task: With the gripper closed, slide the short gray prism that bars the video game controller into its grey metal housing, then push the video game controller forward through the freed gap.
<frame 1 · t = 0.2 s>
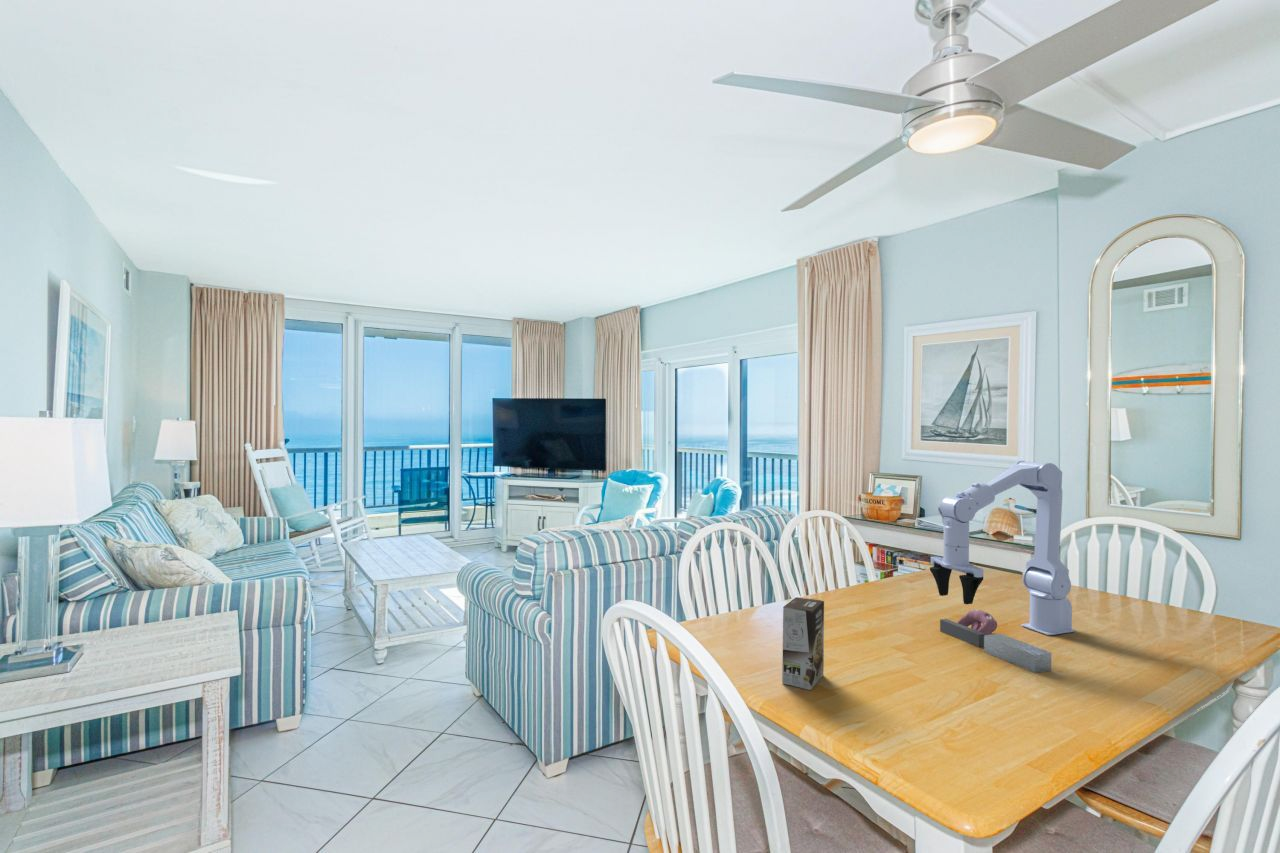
hand: (955, 599, 156), 10 cm above the table, tool pointing down, fingers open, 7 cm apart
coffee box: (803, 680, 131), on the table
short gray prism: (961, 632, 156), point 2 cm above the table, slide at 0.2 cm
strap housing: (1014, 660, 142), on the table
video game controller: (977, 634, 160), on the table
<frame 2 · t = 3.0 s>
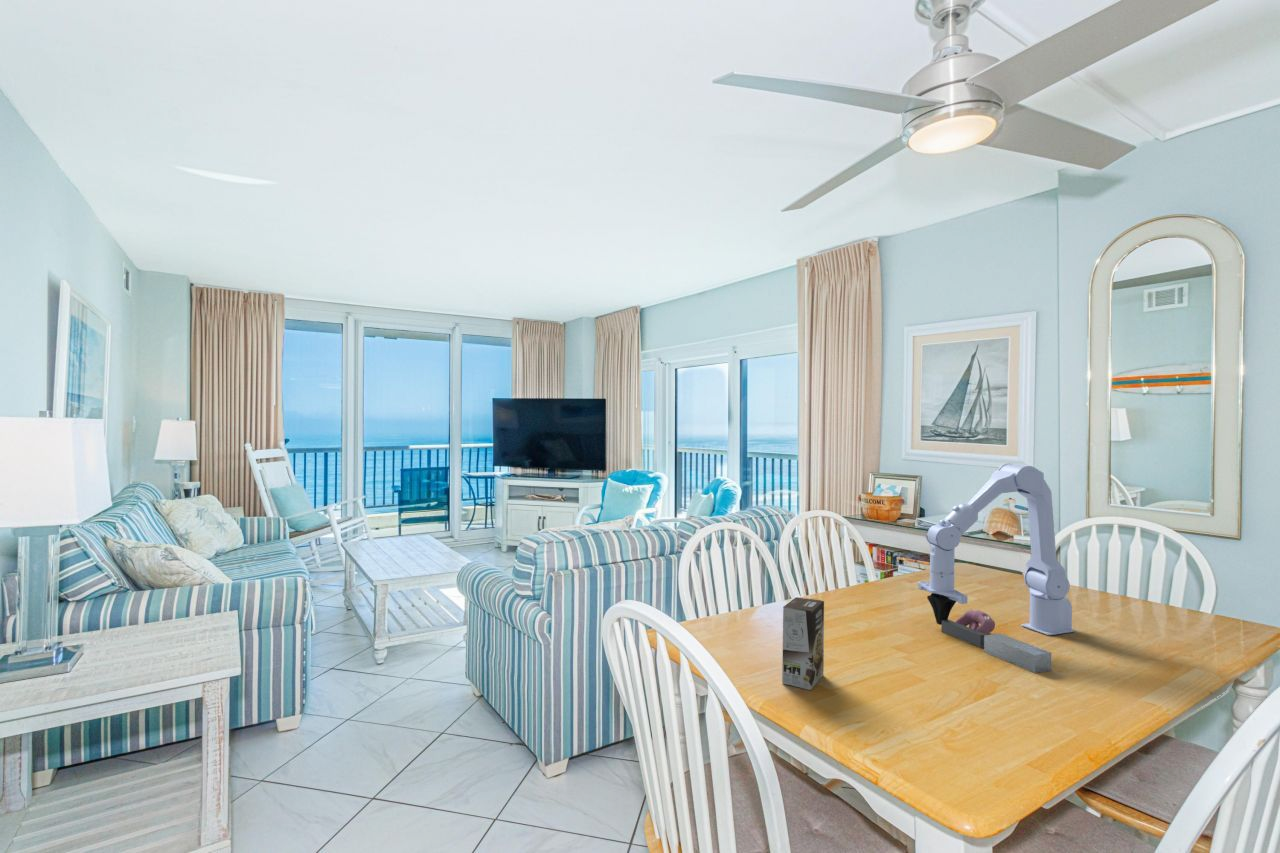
hand: (941, 623, 163), 2 cm above the table, tool pointing down, fingers closed
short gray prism: (963, 633, 156), point 1 cm above the table, slide at 0.7 cm, touching gripper
everything else where it was.
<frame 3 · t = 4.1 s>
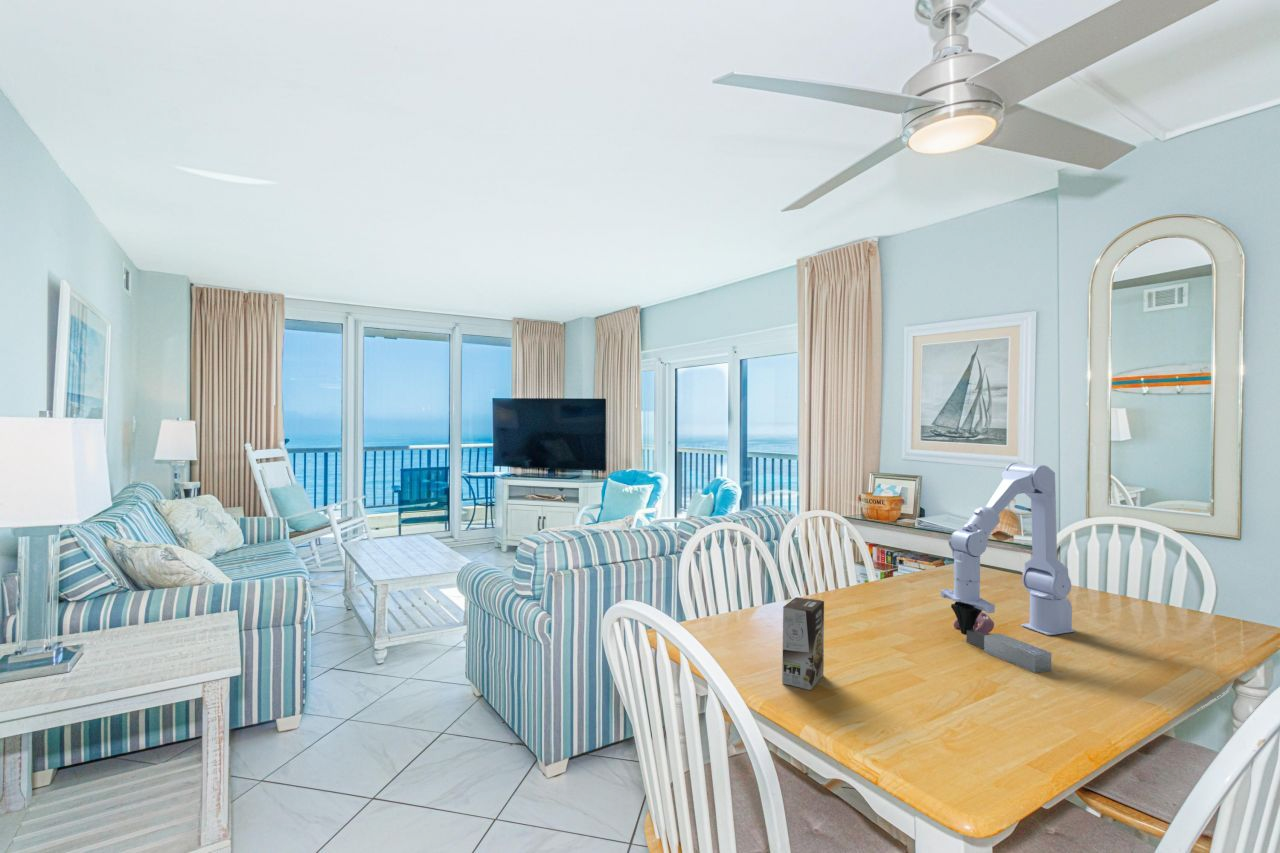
hand: (966, 633, 155), 2 cm above the table, tool pointing down, fingers closed
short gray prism: (990, 643, 148), point 1 cm above the table, slide at 8.6 cm, touching gripper
everything else where it was.
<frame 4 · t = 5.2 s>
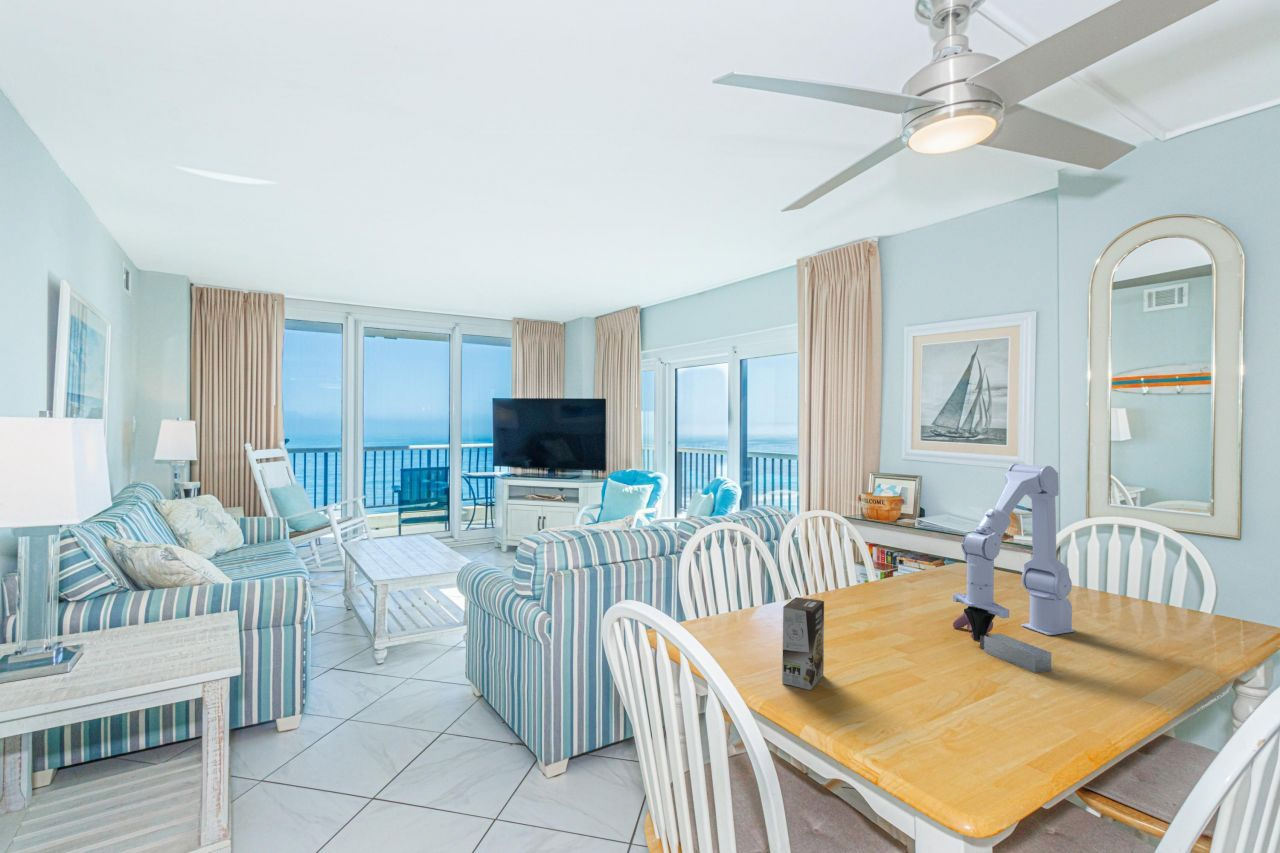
hand: (979, 639, 151), 2 cm above the table, tool pointing down, fingers closed
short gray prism: (1004, 649, 145), point 1 cm above the table, slide at 12.5 cm, touching gripper
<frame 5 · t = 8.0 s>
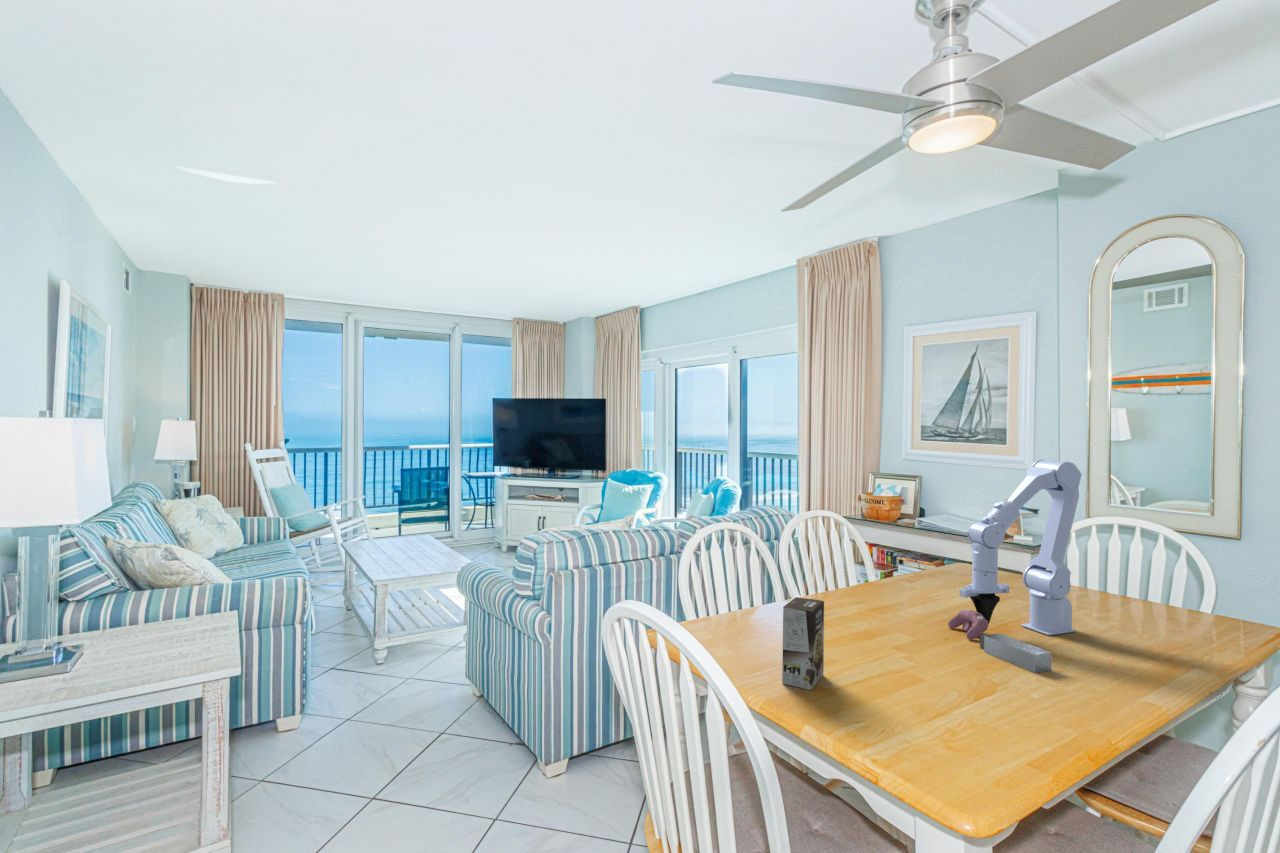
hand: (984, 622, 160), 3 cm above the table, tool pointing down, fingers closed
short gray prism: (1005, 649, 145), point 1 cm above the table, slide at 12.6 cm
video game controller: (968, 634, 160), on the table, touching gripper
everything else where it was.
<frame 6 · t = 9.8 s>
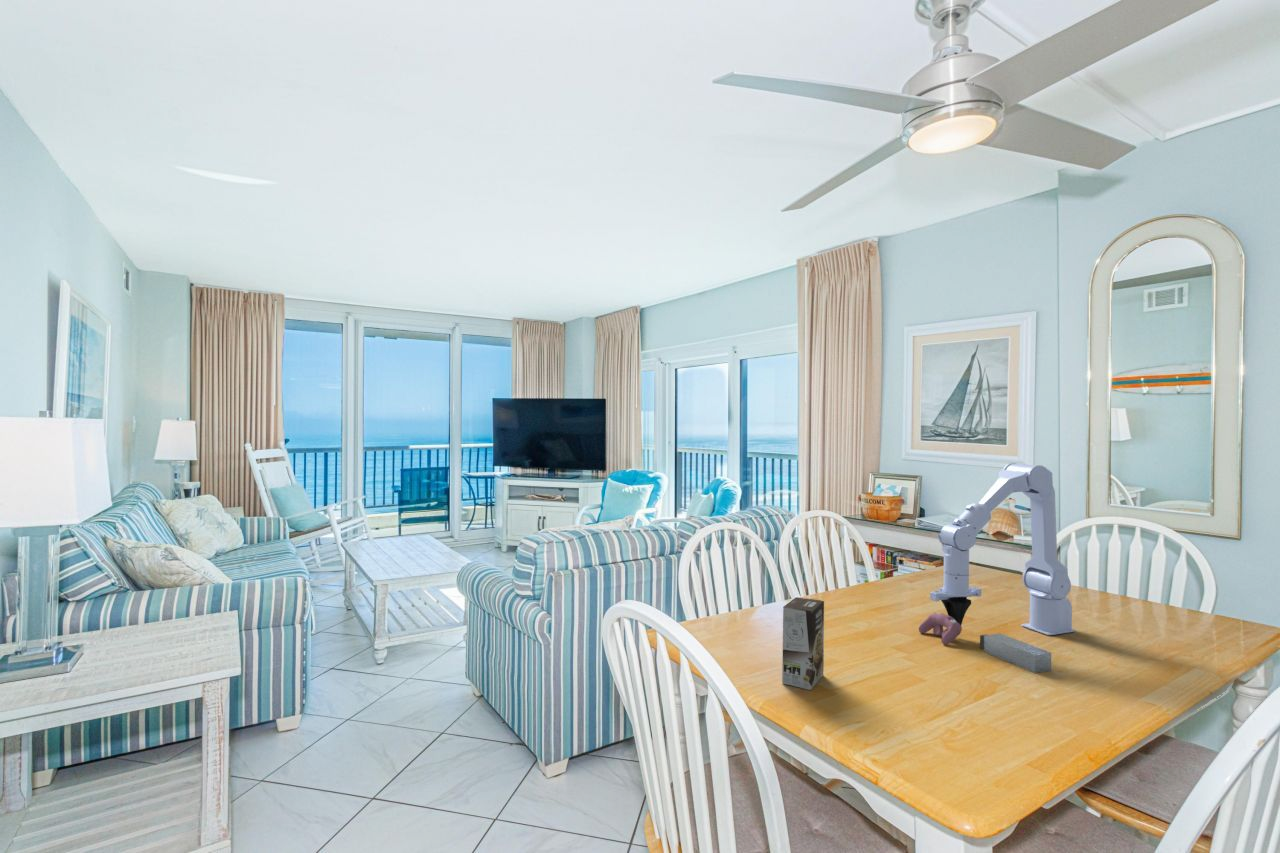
hand: (955, 626, 157), 3 cm above the table, tool pointing down, fingers closed
video game controller: (940, 638, 157), on the table, touching gripper
everything else where it was.
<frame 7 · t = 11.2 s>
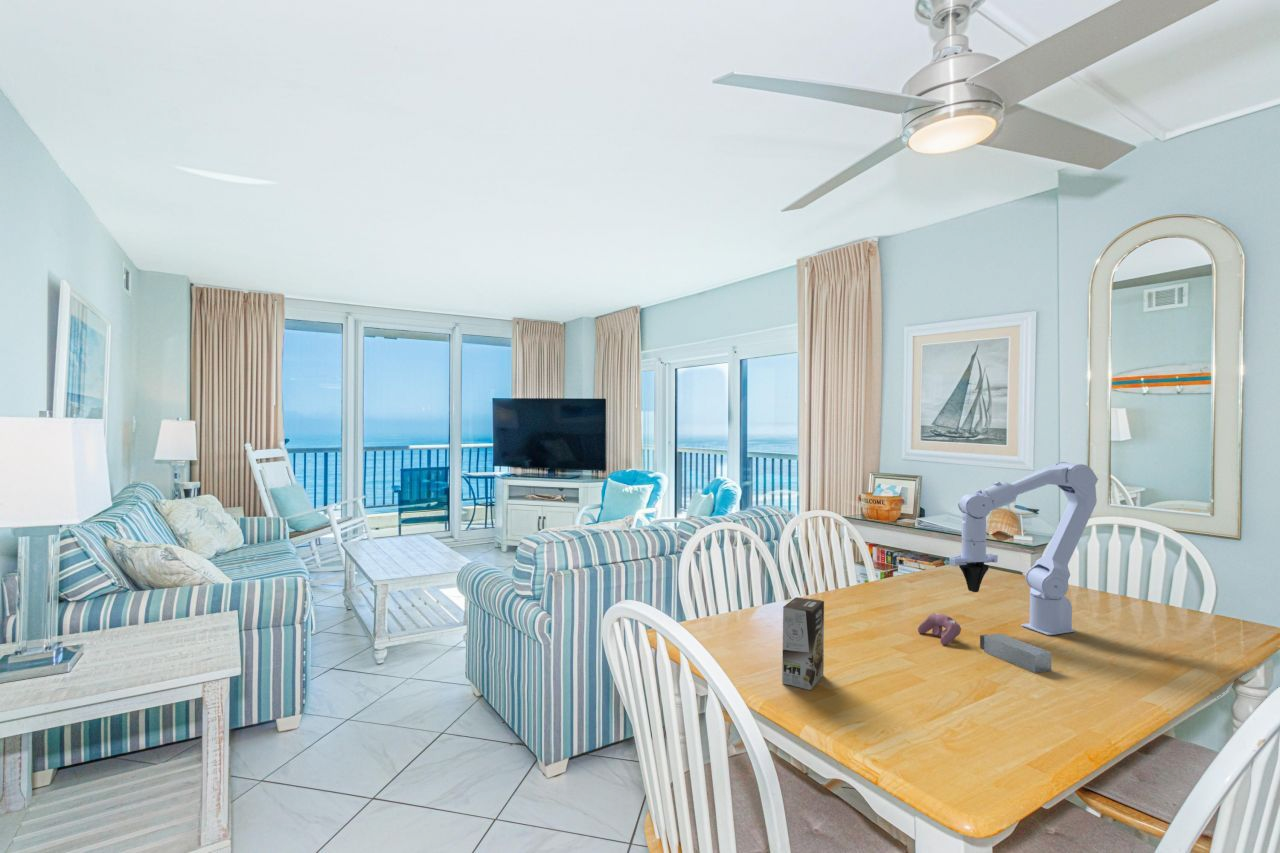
hand: (973, 591, 165), 9 cm above the table, tool pointing down, fingers closed
video game controller: (939, 639, 157), on the table
everything else where it was.
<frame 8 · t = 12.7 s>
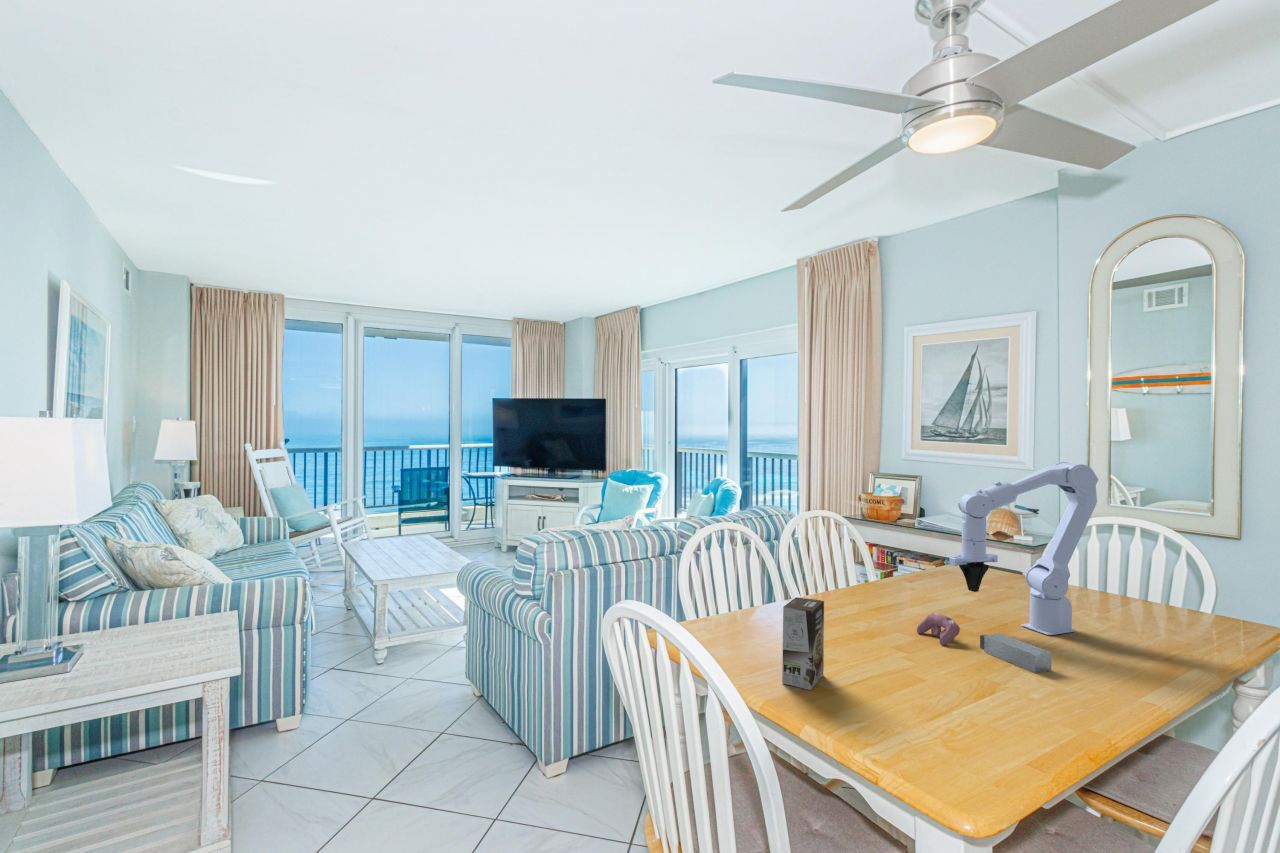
hand: (973, 590, 165), 9 cm above the table, tool pointing down, fingers closed
nothing on the table moved.
at the end: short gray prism slide at 12.6 cm; video game controller inside the target area (0.7 cm from its centre), on the table; video game controller tilted 0° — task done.
